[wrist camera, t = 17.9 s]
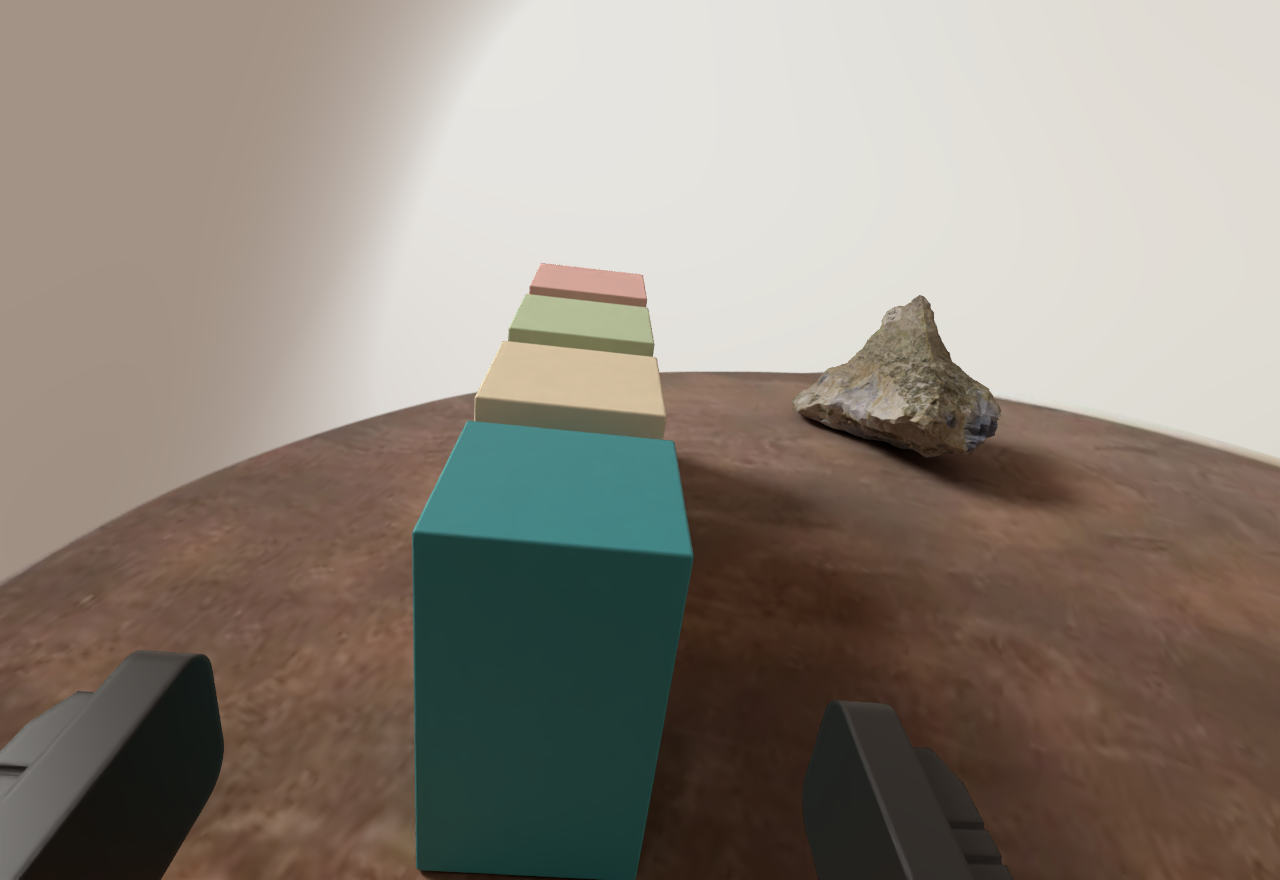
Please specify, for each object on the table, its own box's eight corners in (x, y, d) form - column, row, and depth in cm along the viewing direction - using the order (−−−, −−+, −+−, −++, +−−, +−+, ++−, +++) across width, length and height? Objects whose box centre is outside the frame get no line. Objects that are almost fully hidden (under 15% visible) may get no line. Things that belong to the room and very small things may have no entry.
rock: (776, 391, 45) (895, 283, 45) (819, 448, 49) (930, 348, 48) (887, 473, 36) (1038, 337, 35) (931, 537, 39) (1071, 413, 39)
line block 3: (627, 679, 22) (667, 415, 19) (466, 668, 22) (474, 396, 18) (626, 584, 27) (656, 356, 23) (492, 573, 27) (502, 339, 23)
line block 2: (625, 561, 28) (654, 343, 25) (497, 550, 28) (508, 327, 24) (624, 499, 33) (648, 307, 29) (514, 489, 32) (525, 293, 29)
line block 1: (623, 484, 34) (647, 298, 31) (518, 474, 34) (529, 285, 30) (622, 440, 39) (643, 274, 35) (530, 431, 38) (540, 262, 35)
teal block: (635, 883, 16) (695, 556, 13) (415, 871, 16) (410, 530, 12) (632, 716, 21) (675, 440, 17) (460, 704, 21) (466, 418, 17)
